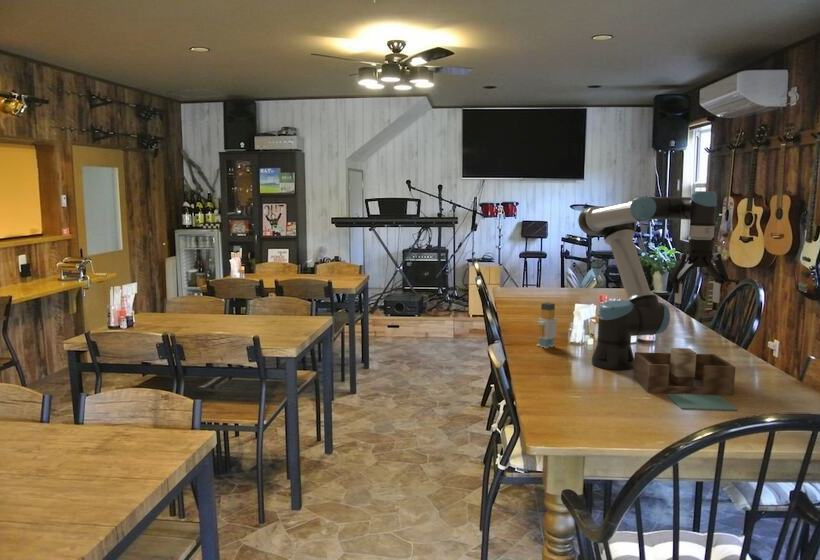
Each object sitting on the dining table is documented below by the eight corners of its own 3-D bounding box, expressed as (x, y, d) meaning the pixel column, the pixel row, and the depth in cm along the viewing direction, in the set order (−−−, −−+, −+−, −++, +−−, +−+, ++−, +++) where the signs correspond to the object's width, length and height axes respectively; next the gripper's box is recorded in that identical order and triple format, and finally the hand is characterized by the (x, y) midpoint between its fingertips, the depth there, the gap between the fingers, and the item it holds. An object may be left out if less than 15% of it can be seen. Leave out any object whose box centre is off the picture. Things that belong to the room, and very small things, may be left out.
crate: (647, 392, 203) (649, 364, 201) (633, 377, 219) (634, 352, 218) (733, 394, 201) (735, 367, 200) (712, 380, 217) (714, 354, 216)
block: (675, 376, 207) (677, 352, 205) (669, 371, 212) (671, 348, 211) (694, 377, 206) (696, 352, 205) (688, 371, 212) (689, 348, 211)
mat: (681, 409, 187) (681, 407, 187) (666, 395, 200) (666, 394, 200) (737, 410, 186) (737, 409, 186) (719, 396, 199) (719, 395, 199)
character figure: (535, 348, 260) (537, 304, 257) (537, 342, 270) (538, 300, 267) (555, 349, 258) (557, 305, 255) (556, 344, 268) (557, 301, 265)
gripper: (671, 239, 204) (667, 305, 207) (743, 239, 207) (738, 303, 210) (659, 237, 211) (655, 301, 214) (729, 237, 215) (724, 300, 217)
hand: (696, 302), depth 212 cm, fingers open, 13 cm apart
